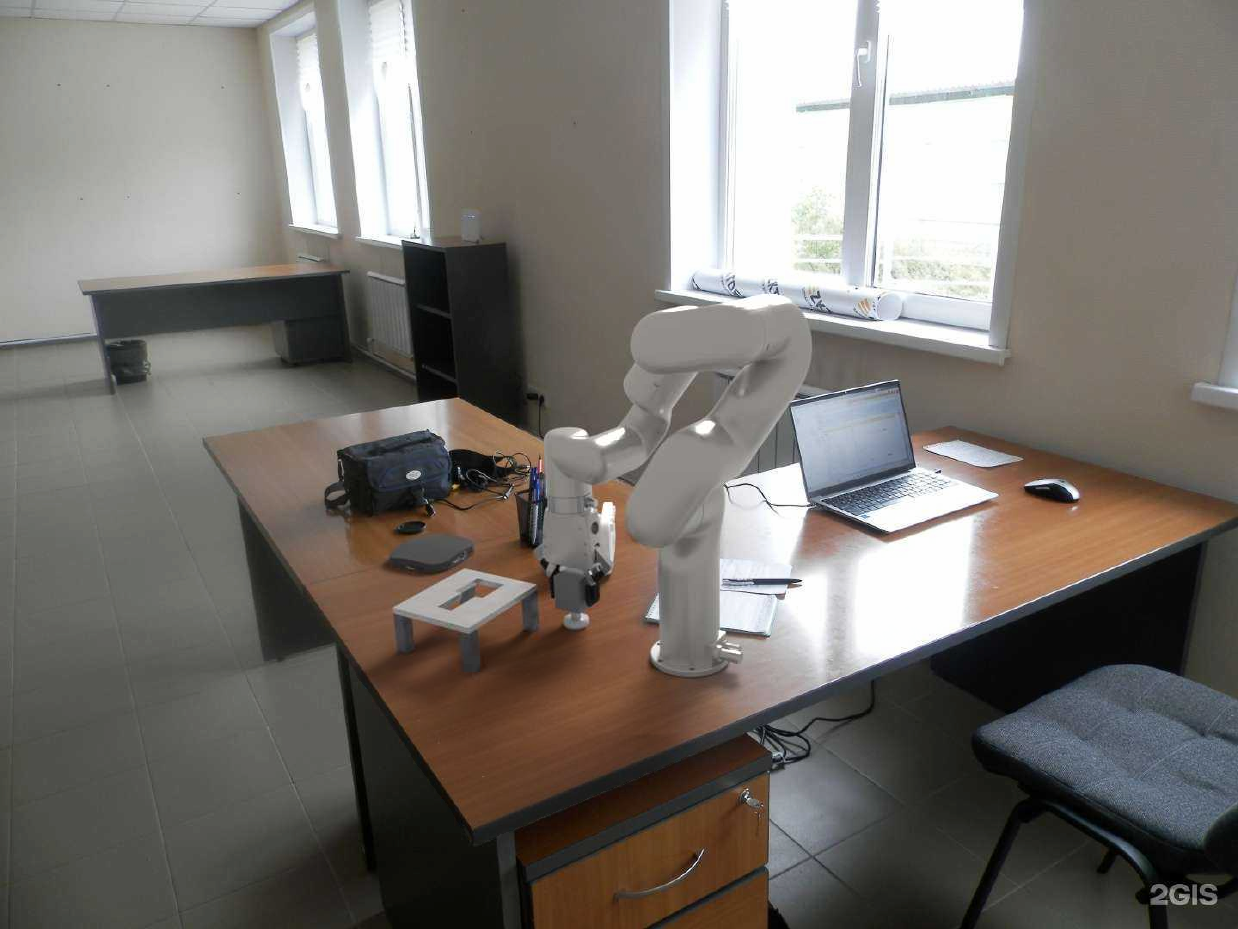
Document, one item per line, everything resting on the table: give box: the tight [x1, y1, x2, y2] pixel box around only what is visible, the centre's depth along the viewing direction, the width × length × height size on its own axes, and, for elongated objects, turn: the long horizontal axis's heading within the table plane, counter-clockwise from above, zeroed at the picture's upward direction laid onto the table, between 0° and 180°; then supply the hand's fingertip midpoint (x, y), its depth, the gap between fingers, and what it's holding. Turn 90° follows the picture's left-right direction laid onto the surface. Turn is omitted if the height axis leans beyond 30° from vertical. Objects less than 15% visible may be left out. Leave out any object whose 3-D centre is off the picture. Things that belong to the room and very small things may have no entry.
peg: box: [553, 567, 594, 631], centre depth 154 cm, size 5×5×10 cm
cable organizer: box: [560, 501, 617, 576], centre depth 179 cm, size 15×11×12 cm
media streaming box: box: [389, 533, 475, 574], centre depth 187 cm, size 15×15×3 cm
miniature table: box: [392, 568, 541, 675], centre depth 151 cm, size 16×18×8 cm
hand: (575, 598), depth 155 cm, fingers open, 6 cm apart
